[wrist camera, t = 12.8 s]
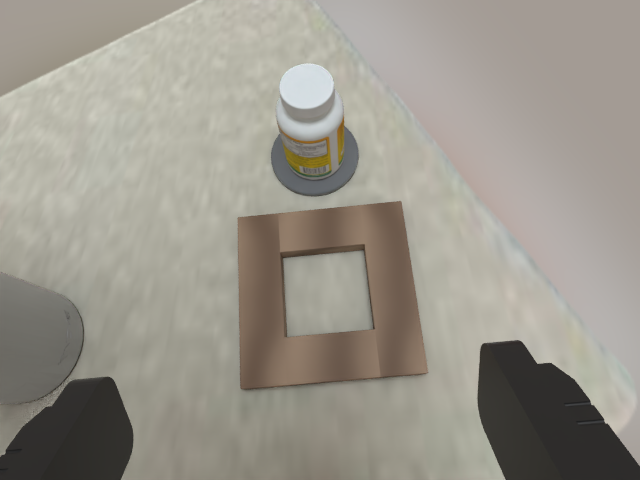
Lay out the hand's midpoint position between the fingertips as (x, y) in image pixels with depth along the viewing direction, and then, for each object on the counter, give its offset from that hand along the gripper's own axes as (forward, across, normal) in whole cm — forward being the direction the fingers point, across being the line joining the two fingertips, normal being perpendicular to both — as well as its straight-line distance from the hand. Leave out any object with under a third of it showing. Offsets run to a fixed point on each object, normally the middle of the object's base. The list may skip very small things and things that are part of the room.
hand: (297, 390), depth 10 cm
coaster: (+34, 0, +3) cm, 34 cm away
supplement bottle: (+33, 0, +3) cm, 33 cm away
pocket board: (+24, 0, +13) cm, 27 cm away
